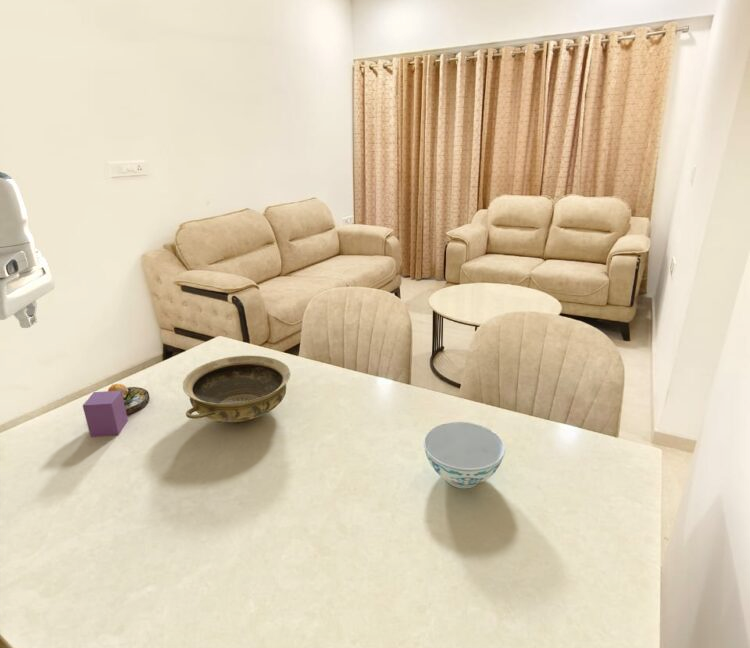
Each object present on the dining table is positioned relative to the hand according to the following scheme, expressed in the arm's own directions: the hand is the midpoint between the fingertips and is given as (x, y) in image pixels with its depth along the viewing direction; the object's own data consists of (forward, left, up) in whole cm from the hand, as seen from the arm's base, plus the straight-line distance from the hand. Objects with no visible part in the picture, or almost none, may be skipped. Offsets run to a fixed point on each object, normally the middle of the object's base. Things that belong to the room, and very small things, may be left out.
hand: (29, 325), depth 100 cm
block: (+9, -2, -27) cm, 29 cm away
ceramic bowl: (+36, -14, -27) cm, 47 cm away
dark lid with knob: (+14, +8, -27) cm, 32 cm away
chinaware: (+61, -62, -27) cm, 91 cm away
